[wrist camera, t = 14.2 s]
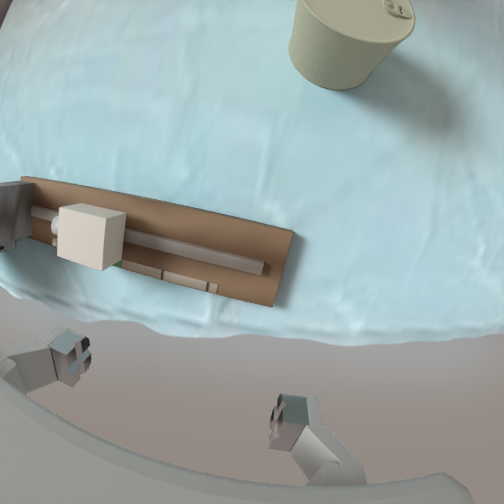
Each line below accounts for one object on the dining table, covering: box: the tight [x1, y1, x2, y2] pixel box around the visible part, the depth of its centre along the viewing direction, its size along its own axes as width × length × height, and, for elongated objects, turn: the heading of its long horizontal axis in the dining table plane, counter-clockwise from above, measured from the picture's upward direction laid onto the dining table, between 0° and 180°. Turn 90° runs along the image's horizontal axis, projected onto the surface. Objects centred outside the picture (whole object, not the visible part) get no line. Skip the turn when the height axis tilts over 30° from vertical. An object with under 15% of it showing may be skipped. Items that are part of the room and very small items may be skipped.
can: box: [289, 0, 415, 90], centre depth 18 cm, size 9×9×12 cm
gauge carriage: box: [51, 203, 127, 271], centre depth 25 cm, size 7×8×5 cm
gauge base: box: [0, 176, 293, 307], centre depth 25 cm, size 8×36×8 cm, turn 77°
